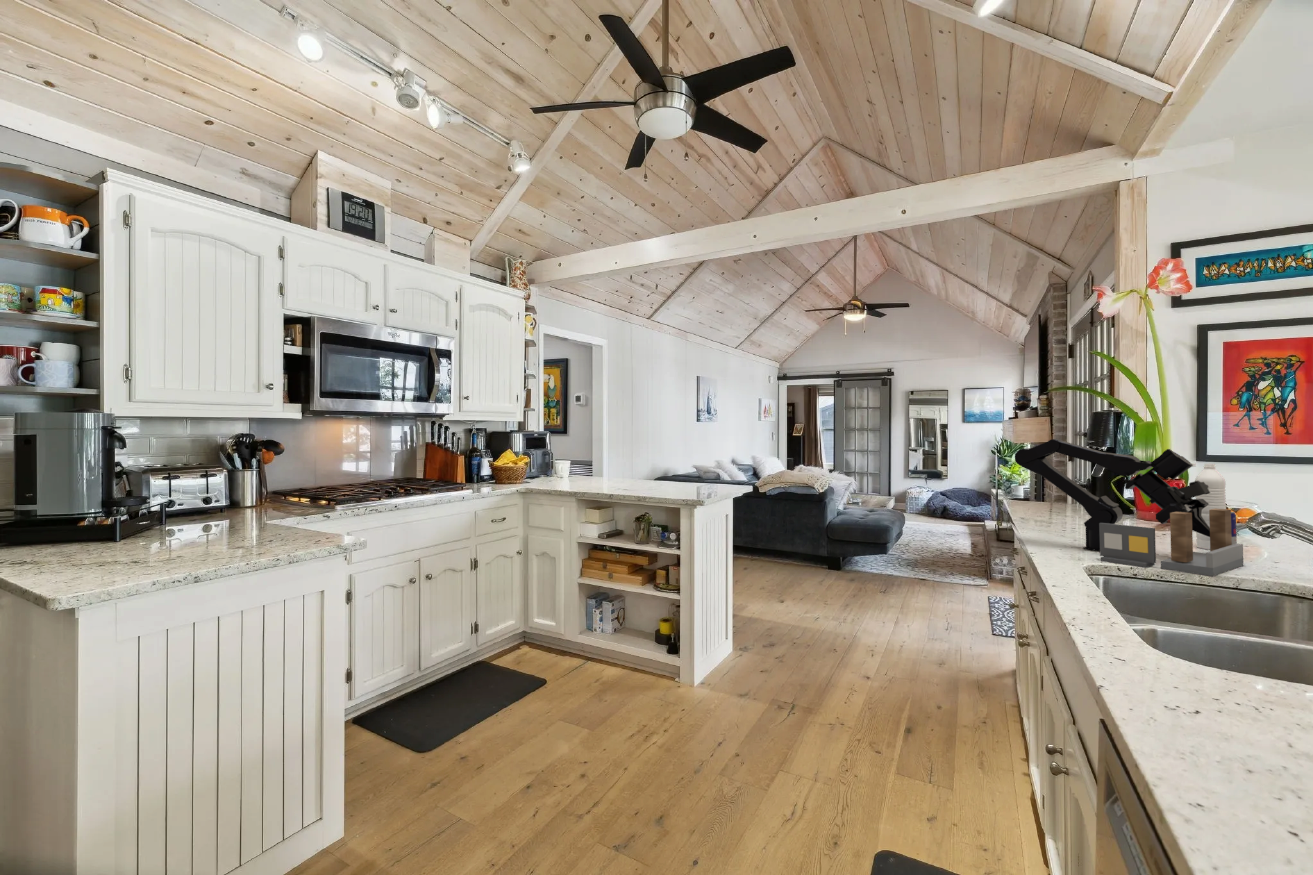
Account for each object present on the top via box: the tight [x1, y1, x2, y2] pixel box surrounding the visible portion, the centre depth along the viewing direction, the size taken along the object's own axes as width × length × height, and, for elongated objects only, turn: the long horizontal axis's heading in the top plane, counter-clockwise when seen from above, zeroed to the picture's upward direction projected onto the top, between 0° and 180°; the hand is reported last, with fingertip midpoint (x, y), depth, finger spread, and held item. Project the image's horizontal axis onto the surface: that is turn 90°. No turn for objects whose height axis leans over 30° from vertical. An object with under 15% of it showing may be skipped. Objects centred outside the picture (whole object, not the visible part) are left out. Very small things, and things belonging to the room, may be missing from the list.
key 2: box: [1209, 508, 1232, 552], centre depth 150 cm, size 3×4×12 cm
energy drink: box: [1209, 511, 1238, 545], centre depth 161 cm, size 5×5×12 cm
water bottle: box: [1190, 462, 1227, 551], centre depth 170 cm, size 9×6×25 cm
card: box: [1099, 523, 1157, 569], centre depth 154 cm, size 12×5×10 cm, turn 30°
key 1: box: [1169, 512, 1194, 563], centre depth 146 cm, size 3×4×12 cm
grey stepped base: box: [1160, 543, 1244, 577], centre depth 148 cm, size 10×20×6 cm, turn 120°
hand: (1212, 535), depth 151 cm, fingers closed, pressing on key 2
